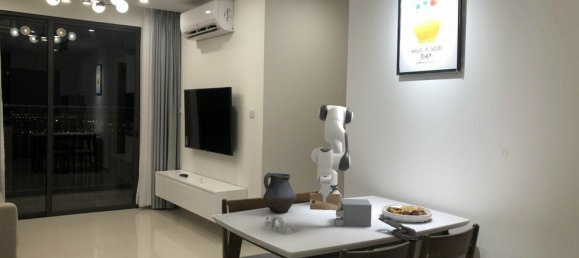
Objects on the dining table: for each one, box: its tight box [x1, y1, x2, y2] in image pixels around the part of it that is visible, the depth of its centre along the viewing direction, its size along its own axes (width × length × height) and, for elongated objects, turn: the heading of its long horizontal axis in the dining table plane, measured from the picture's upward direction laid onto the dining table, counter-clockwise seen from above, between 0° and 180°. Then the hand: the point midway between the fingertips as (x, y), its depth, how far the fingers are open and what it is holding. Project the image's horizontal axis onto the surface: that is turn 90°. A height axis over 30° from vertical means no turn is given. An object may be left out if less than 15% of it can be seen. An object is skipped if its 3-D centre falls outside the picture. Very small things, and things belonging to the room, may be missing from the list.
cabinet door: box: [309, 192, 343, 211], centre depth 258 cm, size 4×18×9 cm, turn 88°
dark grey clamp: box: [377, 216, 420, 242], centre depth 243 cm, size 9×7×25 cm
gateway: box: [264, 215, 292, 235], centre depth 246 cm, size 20×2×8 cm, turn 39°
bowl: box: [381, 204, 433, 224], centre depth 281 cm, size 30×30×8 cm
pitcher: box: [262, 172, 297, 214], centre depth 287 cm, size 21×22×25 cm
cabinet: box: [335, 198, 373, 227], centre depth 265 cm, size 18×20×12 cm
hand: (324, 201), depth 259 cm, fingers closed on cabinet door, 2 cm apart
